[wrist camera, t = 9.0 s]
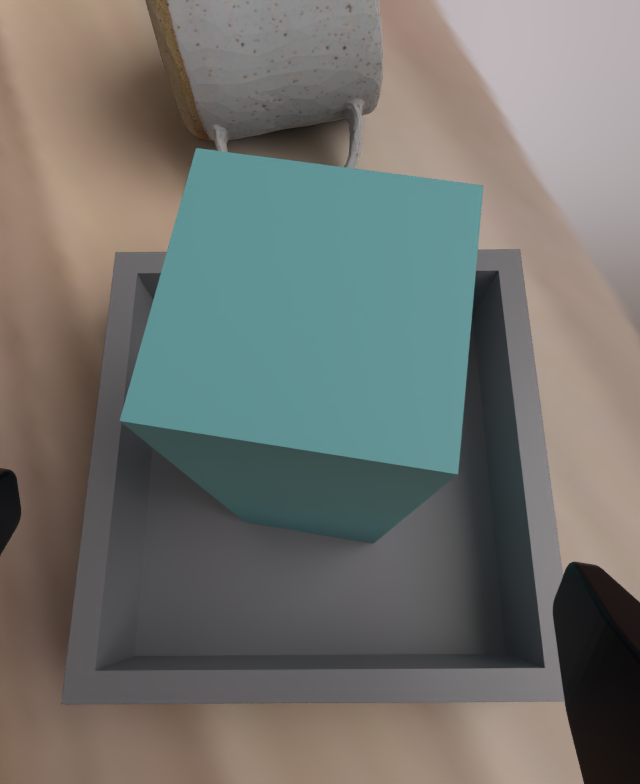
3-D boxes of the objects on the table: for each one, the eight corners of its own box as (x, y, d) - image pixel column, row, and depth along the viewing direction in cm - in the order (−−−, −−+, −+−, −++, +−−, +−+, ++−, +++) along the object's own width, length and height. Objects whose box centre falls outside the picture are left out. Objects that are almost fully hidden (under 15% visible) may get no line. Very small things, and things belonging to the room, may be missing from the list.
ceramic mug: (166, 60, 27) (110, -127, 20) (333, 24, 28) (337, -170, 21) (216, 250, 24) (171, 111, 17) (401, 204, 25) (435, 51, 18)
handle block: (373, 543, 20) (458, 474, 7) (244, 521, 20) (119, 420, 8) (389, 418, 21) (483, 185, 9) (268, 399, 21) (195, 148, 9)
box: (528, 678, 19) (579, 701, 15) (113, 680, 19) (61, 704, 15) (487, 304, 23) (520, 249, 20) (149, 306, 23) (115, 252, 20)
